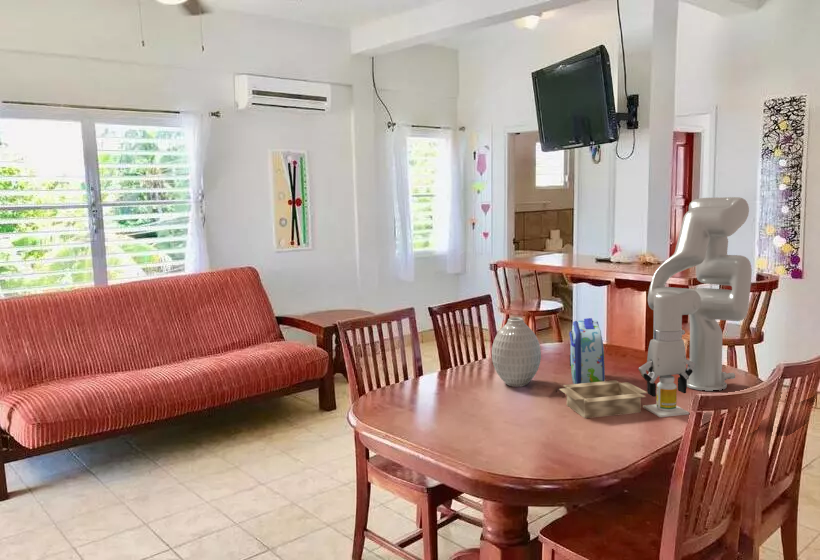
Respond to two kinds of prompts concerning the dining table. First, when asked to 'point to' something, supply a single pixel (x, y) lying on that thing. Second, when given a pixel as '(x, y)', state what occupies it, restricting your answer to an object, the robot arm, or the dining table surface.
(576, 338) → the lunch box
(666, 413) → the coaster
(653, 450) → the dining table surface
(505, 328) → the vase
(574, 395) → the carton
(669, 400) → the supplement bottle
